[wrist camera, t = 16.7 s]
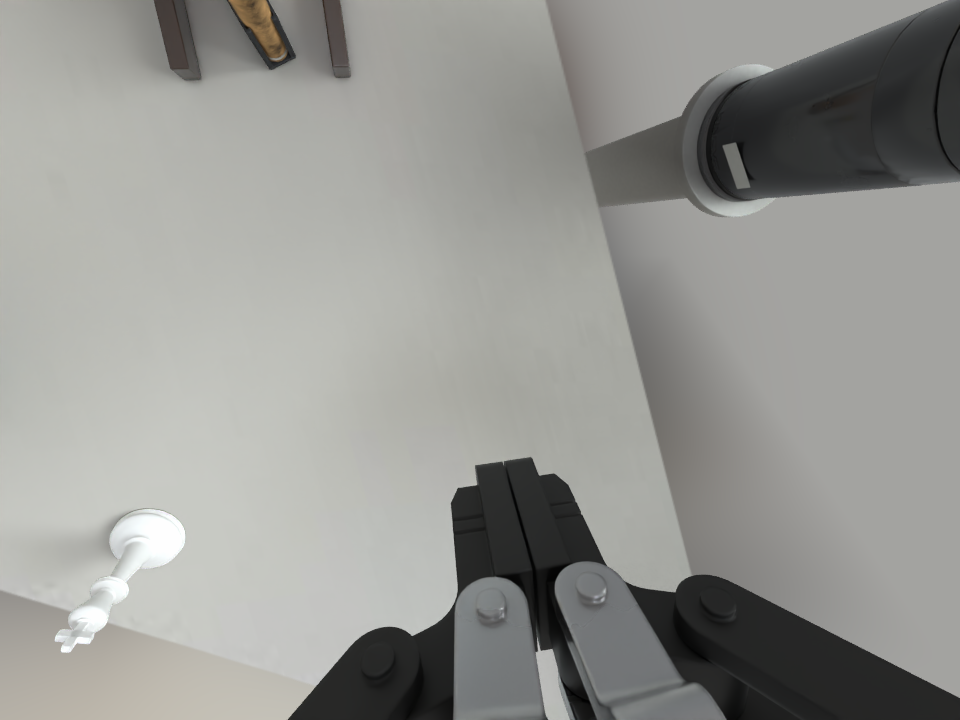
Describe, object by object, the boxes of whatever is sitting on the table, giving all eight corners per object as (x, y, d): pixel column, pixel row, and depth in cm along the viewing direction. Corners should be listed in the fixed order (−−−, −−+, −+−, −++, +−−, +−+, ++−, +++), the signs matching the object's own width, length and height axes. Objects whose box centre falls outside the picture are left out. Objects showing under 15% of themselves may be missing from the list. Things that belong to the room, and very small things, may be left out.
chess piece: (119, 503, 34) (19, 608, 24) (191, 514, 35) (123, 618, 26) (107, 558, 35) (6, 680, 25) (178, 567, 36) (108, 686, 27)
